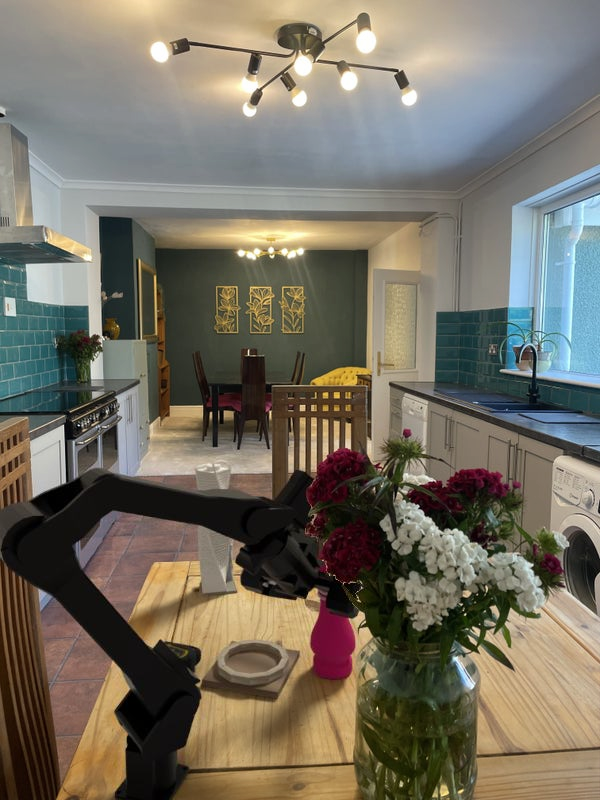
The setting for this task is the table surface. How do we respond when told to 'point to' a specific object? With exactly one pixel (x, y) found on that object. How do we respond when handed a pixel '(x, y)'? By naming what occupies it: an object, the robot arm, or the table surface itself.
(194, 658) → the tape measure
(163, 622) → the table surface
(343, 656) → the pepper mill
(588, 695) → the table surface
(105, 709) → the table surface
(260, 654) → the stand
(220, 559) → the skyscraper
